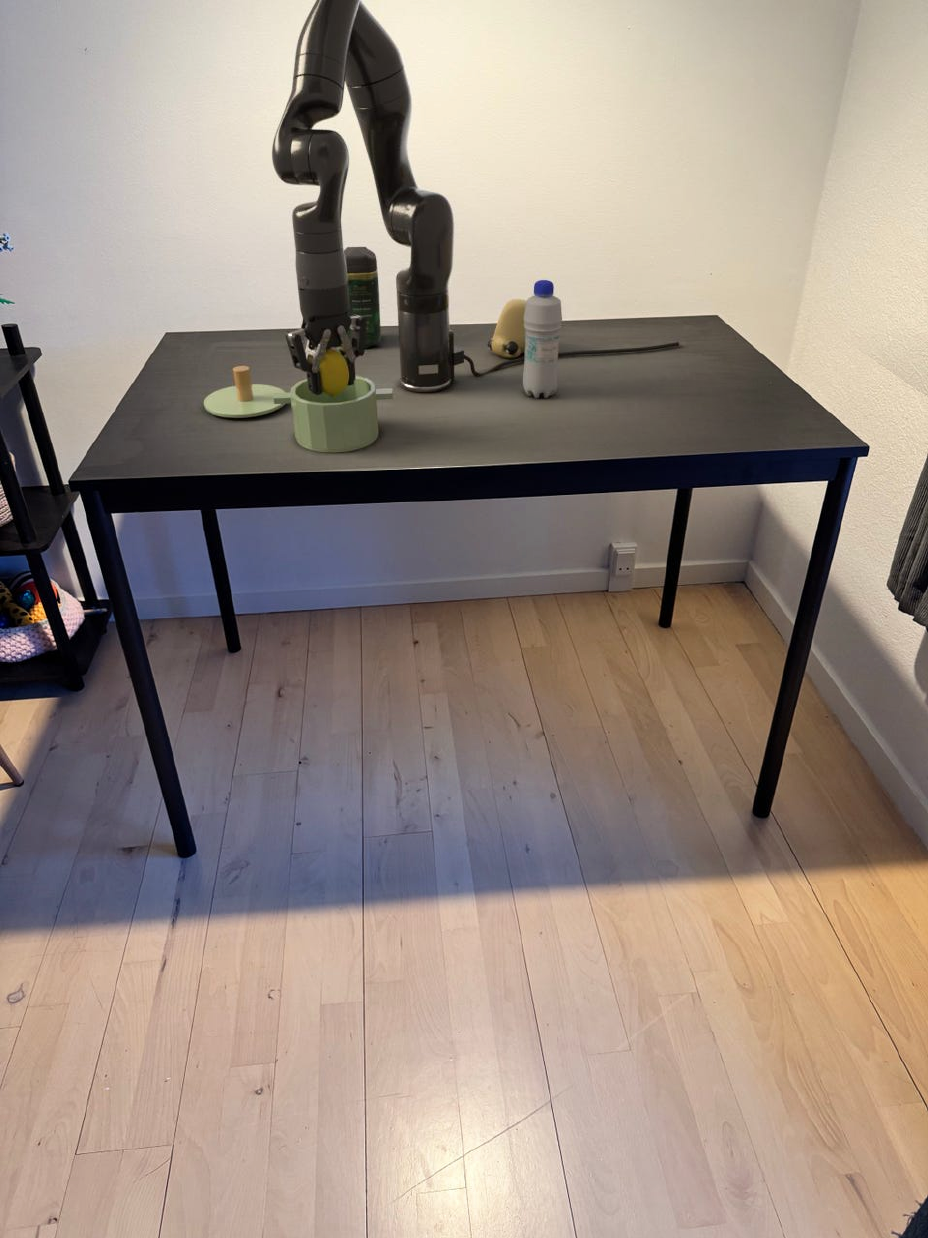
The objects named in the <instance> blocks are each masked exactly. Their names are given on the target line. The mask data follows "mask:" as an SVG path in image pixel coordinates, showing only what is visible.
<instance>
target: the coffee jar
mask: <svg viewBox="0 0 928 1238" xmlns="http://www.w3.org/2000/svg"><path fill="white" fill-rule="evenodd" d="M344 255H345V260H346V267H347V280H348V292H349V305H350V309H349V311H348V313H349V315H350V317H352V316H353V315H354V314H356V315H358V316H361V317H364V318H366V320H367V325H366V339H365V349H368V348H369V347H374V346H378V345H380V343H381V339H382V333H381V331H382V330H381V314H380V313H381V311H380V309H381V308H380V285H379V275H378V274H379V272H378V260H377V256H376V253H375V252H374V251H373V250H371V249H369V248H368V247H367V246H347V247H346V248H345V249H344ZM346 335H347V337H348V339H349V341H350V335H351V329H350V327H349V330H348V332H347V334H346Z"/></svg>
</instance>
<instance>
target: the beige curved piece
mask: <svg viewBox="0 0 928 1238" xmlns="http://www.w3.org/2000/svg"><path fill="white" fill-rule="evenodd" d="M526 301H527V299H523V298H512V299H510V300H508V301H507V302H506V303H505V304H504V306H503V308H502V310H501V313H500V315H499V317H498V320H497V323H496V326H495V329H494V333H493V337H492V338H490V339H489V340H488V342H487V348H488V350H490V351H491V352H492V353H493V354H495V355H496V356H499V357H502V358H505V359H516V358H518V357H519V356H520V355H521V354H525V332H526V330H525V328H524V314H525V308H526Z"/></svg>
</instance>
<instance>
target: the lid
mask: <svg viewBox="0 0 928 1238" xmlns="http://www.w3.org/2000/svg"><path fill="white" fill-rule="evenodd" d="M232 374H233V379H234V385H232V386H227V387H224V388H220V389H218V390H215V391H213V392H212V393H210V394H208V395H207V396H206V397H205V398H204V400H203V407H204V409H205V411H206V412H207V413H209V414H211V415H214V416H218V417H222V418H233V419H234V418H235V419H239V418H240V419H241V418H242V419H243V418H251V417H252V418H253V417H259V416H263V415H267V414H270V413H273V412H275V411H277V410H279V409H281V408H283V407H284V406H285V405H286V404H274V394H275V393H286V391H285V390H284V389H283V388H280V387H277V386H273V385H270V384H261V383H260V384H259V383H252V378H251V371H250V367H249V366H247V365H237V366H234V367H233V368H232Z"/></svg>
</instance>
